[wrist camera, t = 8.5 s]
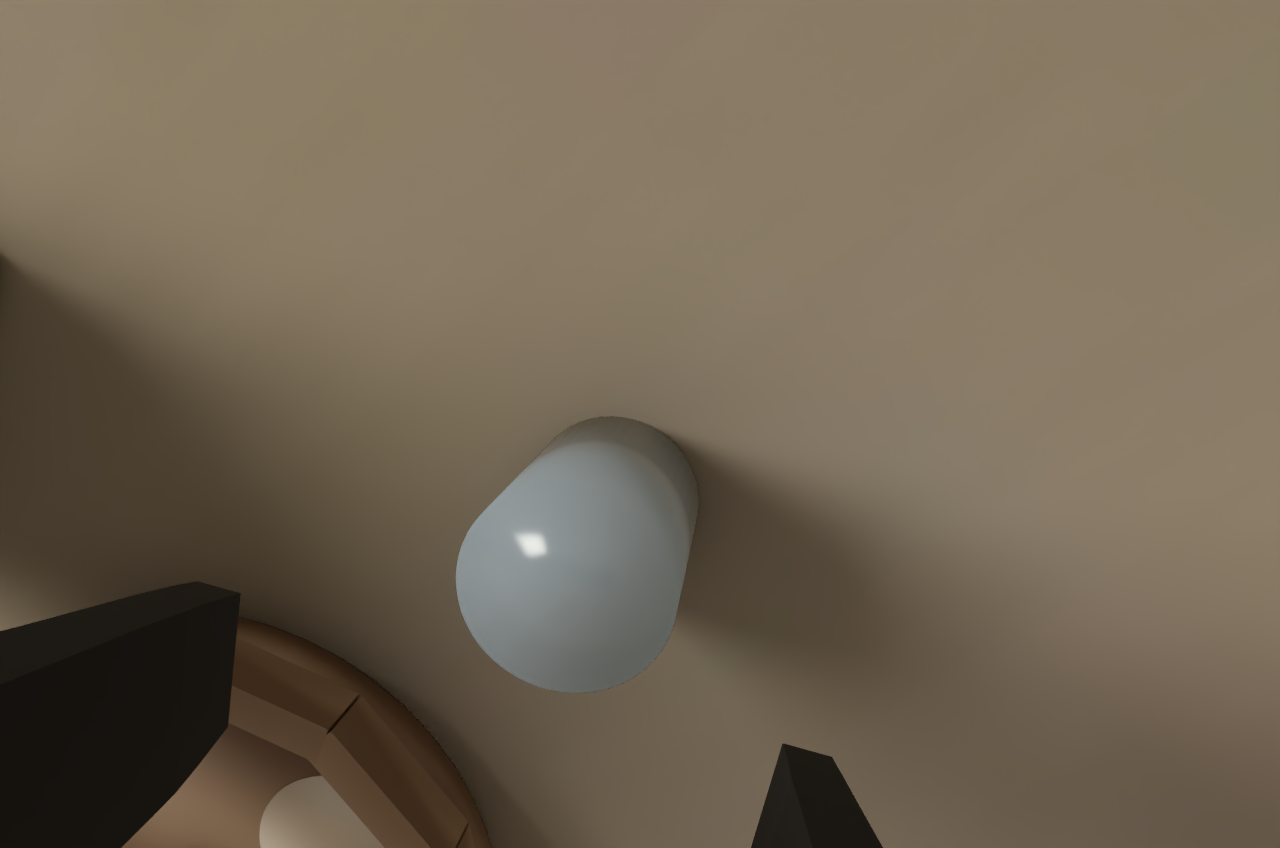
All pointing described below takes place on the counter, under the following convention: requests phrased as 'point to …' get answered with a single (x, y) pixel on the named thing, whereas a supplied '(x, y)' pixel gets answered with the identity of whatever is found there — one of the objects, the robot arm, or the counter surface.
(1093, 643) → the counter surface
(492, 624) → the slate bead
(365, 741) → the walnut groove tray
